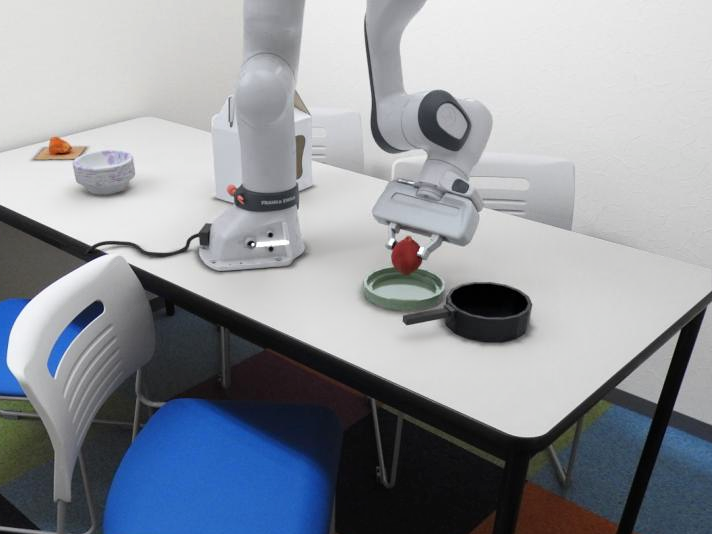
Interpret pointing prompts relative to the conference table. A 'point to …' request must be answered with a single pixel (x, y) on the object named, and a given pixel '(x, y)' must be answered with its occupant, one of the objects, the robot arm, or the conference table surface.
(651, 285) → the conference table surface
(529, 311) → the pan
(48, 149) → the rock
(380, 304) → the plate
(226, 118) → the gable box
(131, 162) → the paper bowls
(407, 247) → the onion
